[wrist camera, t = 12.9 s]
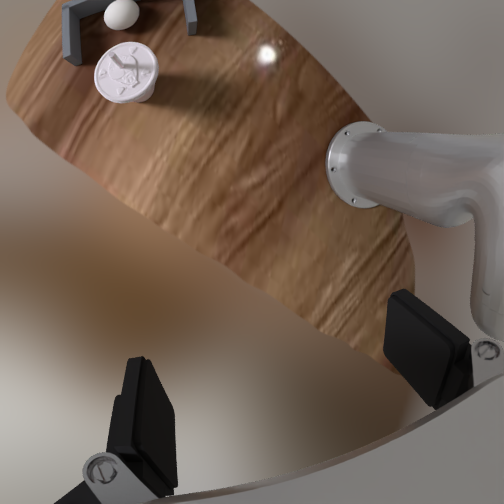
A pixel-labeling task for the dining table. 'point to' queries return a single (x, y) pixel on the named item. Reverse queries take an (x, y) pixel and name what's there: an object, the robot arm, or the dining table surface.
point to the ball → (121, 14)
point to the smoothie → (127, 73)
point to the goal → (89, 3)
